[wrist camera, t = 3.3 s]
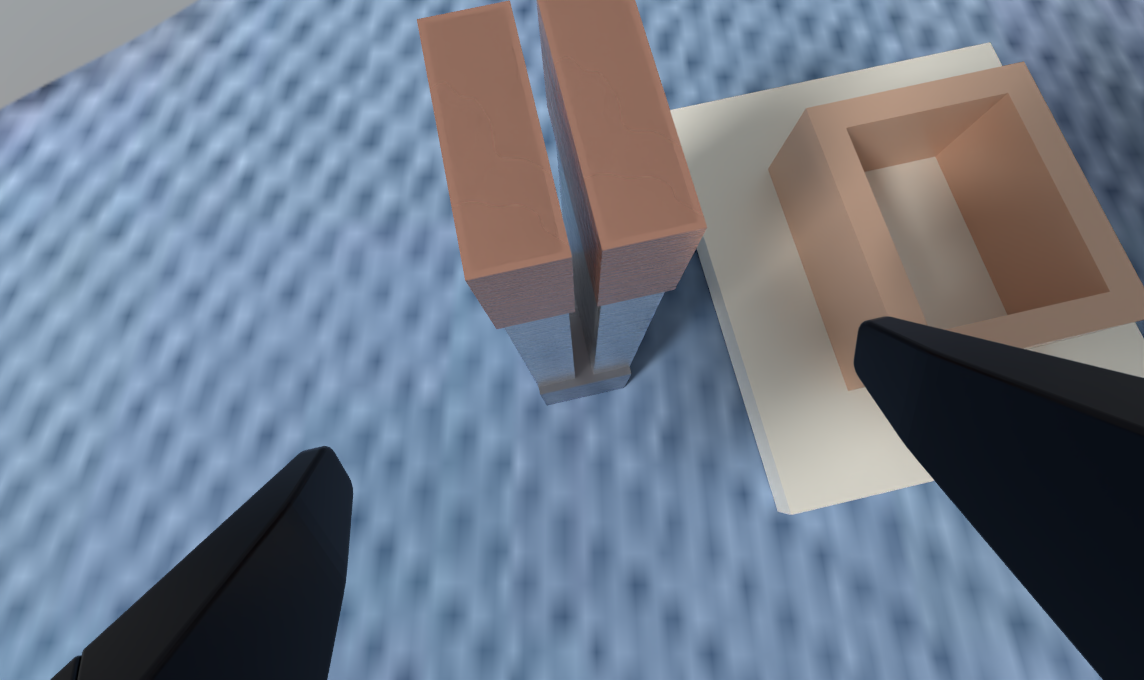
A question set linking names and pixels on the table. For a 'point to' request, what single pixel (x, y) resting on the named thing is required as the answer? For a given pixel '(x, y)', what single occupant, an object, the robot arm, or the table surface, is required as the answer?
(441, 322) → the table surface
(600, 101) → the slotted copper-topped post
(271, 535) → the robot arm
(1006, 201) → the holder
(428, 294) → the table surface
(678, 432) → the table surface
